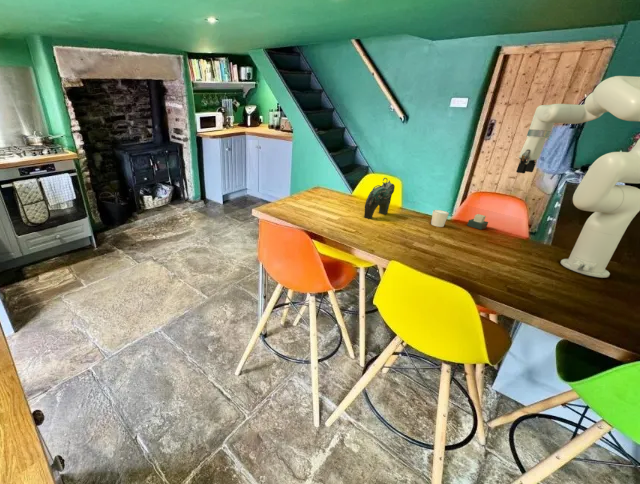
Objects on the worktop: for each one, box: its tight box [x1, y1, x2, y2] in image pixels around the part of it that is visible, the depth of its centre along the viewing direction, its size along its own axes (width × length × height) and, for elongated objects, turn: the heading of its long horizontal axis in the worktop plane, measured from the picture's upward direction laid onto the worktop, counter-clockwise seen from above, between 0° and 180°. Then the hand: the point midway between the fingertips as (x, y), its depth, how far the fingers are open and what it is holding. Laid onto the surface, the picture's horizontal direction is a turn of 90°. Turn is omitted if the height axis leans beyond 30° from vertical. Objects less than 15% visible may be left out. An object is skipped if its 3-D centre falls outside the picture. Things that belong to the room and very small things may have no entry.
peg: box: [473, 213, 487, 223], centre depth 150 cm, size 3×3×6 cm
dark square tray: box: [466, 218, 489, 230], centre depth 150 cm, size 6×6×3 cm
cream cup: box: [430, 209, 450, 228], centre depth 149 cm, size 7×7×7 cm
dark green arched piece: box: [363, 177, 395, 220], centre depth 155 cm, size 20×6×20 cm, turn 128°
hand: (524, 172), depth 141 cm, fingers open, 9 cm apart
